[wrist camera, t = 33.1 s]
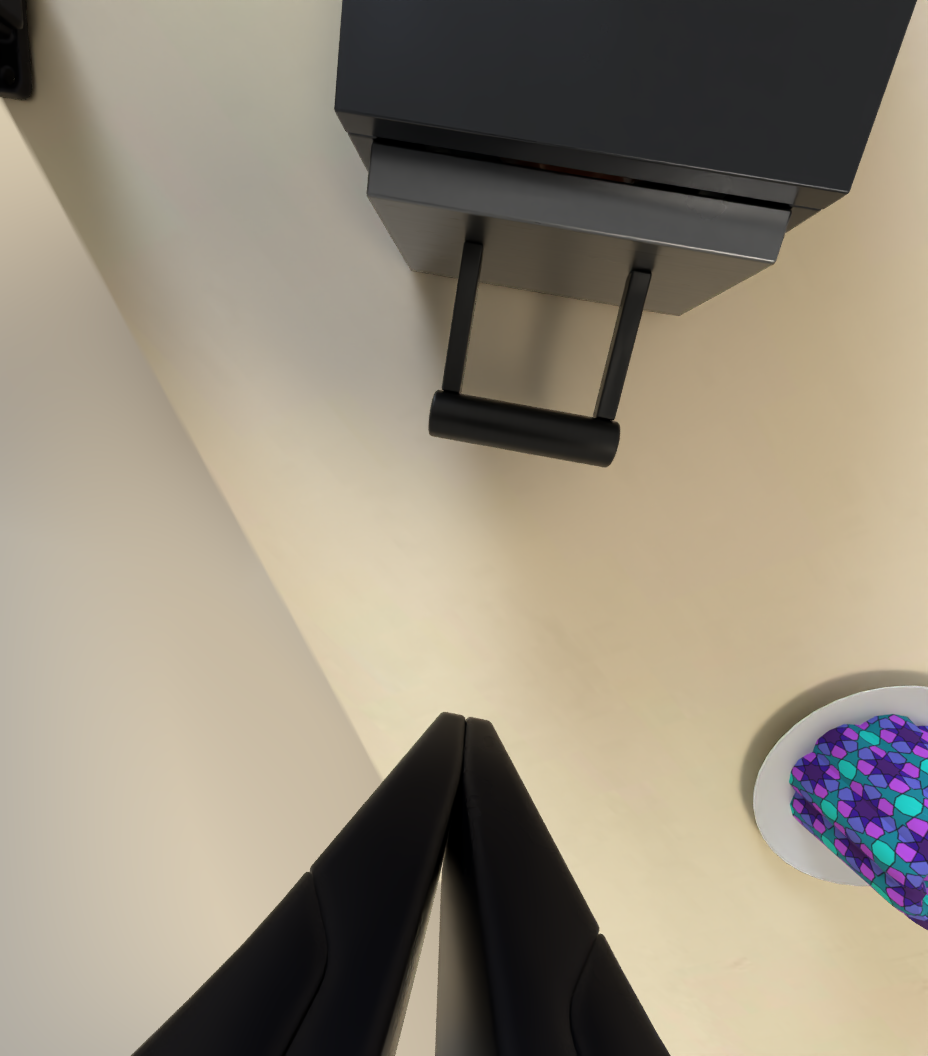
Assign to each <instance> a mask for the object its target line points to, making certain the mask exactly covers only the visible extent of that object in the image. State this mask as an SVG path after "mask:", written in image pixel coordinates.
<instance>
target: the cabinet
mask: <svg viewBox="0 0 928 1056" xmlns="http://www.w3.org/2000/svg"><path fill="white" fill-rule="evenodd" d="M916 2H917V0H343V1H342V14H341V27H340V41H339V54H338V67H337V81H336V94H335V107H334V110H335V112H336V114H337V116H338V118H339V120H340V122H341V124H342V125H343V127H344V129H345V131H346V132H348V135H349V137H350V139H351V141H352V143H353V145H354V146H355V148H356V150H357V152H358V154H359V156H360V158H361V160H362V162H363V163H364V165H365V167H366V169H367V171H368V173H369V163H370V153H371V144H372V142H379V143H385V144H391V145H397V146H404V147H410V148H416V149H422V150H426V148H425V145H430V146H436V147H442V148H448V149H454V150H460V151H467V152H473V153H479V154H485V155H491V156H497V157H503V158H510V159H516V160H522V161H528V162H534V163H540V164H546V165H553V166H559V167H565V168H571V169H577V170H583V171H589V172H596V173H602V174H608V175H614V176H620V177H626V178H632V179H639V180H645V181H651V182H657V183H663V184H669V185H675V186H682V187H688V188H694V189H700V190H706V191H712V192H718V193H725V194H727V195H726V196H725V197H724V198H723V199H728V200H734V201H741V202H747V203H753V204H759V205H765V206H771V207H777V208H784V209H790V210H792V213H791V217H790V220H789V223H788V226H787V229H786V232H788V231H789V230H791V229H793V228H794V227H796V226H797V225H799V224H800V223H802V222H804V221H805V220H807V219H808V218H810V217H812V216H813V215H815V214H816V213H818V212H819V211H821V209H825V208H826V207H828V206H829V205H831V204H833V203H834V202H836V201H837V200H839V199H841V198H842V197H844V196H845V195H847V194H848V193H849V192H850V189H851V186H852V183H853V180H854V178H855V175H856V172H857V169H858V166H859V163H860V161H861V158H862V155H863V152H864V149H865V146H866V144H867V141H868V138H869V135H870V132H871V129H872V126H873V124H874V121H875V118H876V115H877V112H878V109H879V107H880V104H881V101H882V98H883V95H884V92H885V90H886V87H887V84H888V81H889V78H890V75H891V73H892V70H893V67H894V64H895V61H896V58H897V56H898V53H899V50H900V47H901V44H902V41H903V38H904V36H905V33H906V30H907V27H908V24H909V21H910V19H911V16H912V13H913V10H914V7H915V4H916ZM786 232H785V233H786Z"/></svg>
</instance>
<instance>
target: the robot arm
mask: <svg viewBox="0 0 928 1056" xmlns="http://www.w3.org/2000/svg"><path fill="white" fill-rule="evenodd" d="M14 78H15V80H14ZM13 81H14V82H13ZM31 92H32V78H31V66H30V53H29V40H28V27H27V14H26V2H25V0H0V97H6V98H12V99H18V100H26V99H27V98H28V97H30V95H31ZM443 858H444V859H443ZM442 862H443V868H442V882H441V905H440V933H439V961H438V990H437V1018H436V1046H435V1056H670V1054H669V1052H668V1051H667V1049H666V1047H665V1046H664V1044H663V1042H662V1041H661V1039H660V1037H659V1036H658V1034H657V1032H656V1030H655V1029H654V1027H653V1025H652V1023H651V1021H650V1020H649V1018H648V1016H647V1014H646V1012H645V1011H644V1009H643V1007H642V1005H641V1003H640V1002H639V1000H638V998H637V996H636V994H635V993H634V991H633V989H632V987H631V985H630V984H629V982H628V980H627V978H626V976H625V975H624V973H623V971H622V969H621V967H620V965H619V963H618V961H617V960H616V958H615V956H614V954H613V952H612V950H611V948H610V946H609V944H608V942H607V940H606V938H605V937H604V935H603V934H598V933H599V926H598V924H597V922H596V920H595V918H594V916H593V914H592V913H591V911H590V909H589V907H588V905H587V903H586V901H585V899H584V897H583V895H582V894H581V892H580V890H579V888H578V886H577V884H576V882H575V880H574V878H573V877H572V875H571V873H570V871H569V869H568V867H567V865H566V863H565V861H564V859H563V858H562V856H561V854H560V852H559V850H558V848H557V846H556V844H555V842H554V841H553V839H552V837H551V835H550V833H549V831H548V829H547V827H546V825H545V823H544V822H543V820H542V818H541V816H540V814H539V812H538V810H537V808H536V806H535V805H534V803H533V801H532V799H531V797H530V795H529V793H528V791H527V789H526V787H525V786H524V784H523V782H522V780H521V778H520V776H519V774H518V772H517V770H516V769H515V767H514V765H513V763H512V761H511V759H510V757H509V755H508V753H507V751H506V750H505V748H504V746H503V744H502V742H501V740H500V738H499V736H498V734H497V733H496V731H495V729H494V727H493V725H492V723H491V722H490V721H488V720H483V719H478V718H473V717H468V718H467V719H466V720H465V717H464V716H462V715H458V714H453V713H448V712H442V713H441V714H440V715H439V716H438V717H437V718H436V719H435V721H434V722H433V723H432V724H431V725H430V727H429V728H428V729H427V730H426V731H425V732H424V734H423V735H422V736H421V737H420V738H419V740H418V741H417V742H416V743H415V744H414V745H413V747H412V748H411V749H410V750H409V751H408V753H407V754H406V755H405V756H404V757H403V758H402V760H401V761H400V762H399V763H398V764H397V766H396V767H395V768H394V769H393V770H392V771H391V773H390V774H389V775H388V776H387V777H386V779H385V780H384V781H383V782H382V783H381V785H380V786H379V787H378V788H377V789H376V790H375V792H374V793H373V794H372V795H371V796H370V797H369V799H368V800H367V801H366V802H365V804H363V806H362V807H361V808H360V809H359V810H358V812H357V813H356V814H355V815H354V816H353V817H352V819H351V820H350V821H349V822H348V823H347V825H346V826H345V827H344V828H343V830H341V832H340V833H339V834H338V835H337V836H336V838H335V839H334V840H333V841H332V842H331V843H330V845H329V846H328V847H327V848H326V849H325V851H324V852H323V853H322V854H321V855H320V857H319V858H318V859H317V860H316V861H315V862H314V864H313V865H312V866H311V868H310V872H306V873H305V874H304V875H303V876H302V877H301V879H300V880H299V881H298V882H297V883H296V884H295V886H294V887H293V888H292V889H291V890H290V891H289V893H288V894H287V895H286V896H285V897H284V899H283V900H282V901H281V902H280V903H279V904H278V905H277V906H276V908H275V909H274V910H273V911H272V912H271V913H270V914H269V915H268V917H267V918H266V919H265V920H264V921H263V922H262V923H261V924H260V925H259V927H258V928H257V929H256V930H255V931H254V932H253V933H252V934H251V936H250V937H249V938H248V939H247V940H246V941H245V942H244V943H243V944H242V945H241V947H240V948H239V949H238V950H237V951H236V952H235V953H234V954H233V955H232V956H231V957H230V958H229V959H228V960H227V961H226V962H225V963H224V964H223V965H222V966H221V967H220V968H219V969H218V970H217V971H216V972H215V973H214V974H213V975H212V976H211V977H210V978H209V979H208V980H207V981H206V982H205V983H204V984H203V985H202V986H201V987H200V988H199V989H198V990H197V991H196V992H195V993H194V994H193V995H192V996H191V998H189V1000H187V1001H186V1002H185V1003H184V1004H183V1006H181V1007H180V1008H179V1009H178V1010H177V1011H176V1012H175V1013H174V1014H173V1015H172V1016H171V1017H170V1018H169V1019H168V1020H167V1021H166V1022H165V1023H164V1024H163V1025H162V1026H161V1027H160V1028H159V1029H158V1030H157V1031H156V1032H155V1033H154V1034H153V1035H152V1036H151V1037H150V1038H148V1039H147V1040H146V1041H145V1042H144V1043H143V1044H142V1045H141V1046H140V1047H139V1048H138V1049H137V1050H136V1051H135V1052H134V1053H133V1054H132V1055H131V1056H395V1054H396V1050H397V1046H398V1042H399V1038H400V1034H401V1030H402V1026H403V1022H404V1018H405V1014H406V1010H407V1006H408V1002H409V998H410V994H411V990H412V986H413V982H414V977H415V974H416V969H417V966H418V961H419V957H420V954H421V950H422V945H423V942H424V938H425V934H426V929H427V925H428V922H429V917H430V914H431V909H432V905H433V902H434V898H435V893H436V890H437V885H438V881H439V876H440V872H441V867H442Z"/></svg>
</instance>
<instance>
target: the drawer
mask: <svg viewBox="0 0 928 1056" xmlns="http://www.w3.org/2000/svg"><path fill="white" fill-rule="evenodd" d="M425 148H426V150H422V149H416V148H410V147H404V146H397V145H391V144H385V143H379V142H372V144H371V153H370V163H369V174H368V184H367V197H368V198H369V200H370V202H371V203H372V205H373V207H374V209H375V210H376V212H377V214H378V215H379V217H380V219H381V220H382V222H383V224H384V226H385V227H386V229H387V231H388V232H389V234H390V236H391V237H392V239H393V241H394V243H395V244H396V246H397V248H398V249H399V251H400V253H401V254H402V256H403V258H404V260H405V261H406V263H407V265H408V266H409V268H410V270H412V271H418V272H424V273H430V274H436V275H441V276H447V277H453V278H458V283H457V290H456V297H455V303H454V310H453V317H452V323H451V330H450V336H449V343H448V350H447V356H446V363H445V369H444V376H443V383H442V390H444V391H442V390H437V391H436V392H435V394H434V396H433V399H432V403H431V408H430V415H429V434H430V435H431V436H434V437H439V438H445V439H450V440H456V441H461V442H467V443H472V444H478V445H483V446H489V447H494V448H500V449H505V450H511V451H516V452H522V453H527V454H533V455H538V456H544V457H549V458H555V459H561V460H566V461H572V462H577V463H583V464H588V465H594V466H599V467H608V466H609V465H610V464H611V462H612V461H613V459H614V457H615V454H616V452H617V448H618V445H619V440H620V425H619V423H618V422H616V421H612V420H614V419H615V416H616V412H617V409H618V405H619V401H620V397H621V393H622V389H623V385H624V381H625V378H626V374H627V370H628V366H629V362H630V358H631V354H632V351H633V347H634V343H635V339H636V335H637V331H638V327H639V323H640V320H641V316H642V312H643V310H646V311H652V312H658V313H664V314H670V315H675V316H680V315H682V314H684V313H685V312H687V311H689V310H691V309H693V308H695V307H696V306H698V305H700V304H702V303H704V302H706V301H707V300H709V299H711V298H713V297H715V296H716V295H718V294H720V293H722V292H724V291H726V290H727V289H729V288H731V287H733V286H735V285H737V284H738V283H740V282H742V281H744V280H746V279H748V278H749V277H751V276H753V275H755V274H757V273H758V272H760V271H762V270H764V269H766V268H768V267H769V266H771V265H773V264H774V263H775V262H776V260H777V257H778V253H779V250H780V247H781V244H782V241H783V238H784V235H785V232H786V229H787V226H788V223H789V220H790V217H791V213H792V210H790V209H784V208H777V207H771V206H765V205H759V204H753V203H747V202H741V201H734V200H728V199H723V198H724V197H725V196H726V195H727V194H725V193H718V192H712V191H706V190H700V189H694V188H688V187H682V186H675V185H669V184H663V183H657V182H651V181H645V180H641V181H640V182H639V183H637V184H630V183H624V182H618V181H612V180H606V179H600V178H594V177H587V176H581V175H575V174H569V173H563V172H557V171H551V170H545V169H538V168H532V167H526V166H520V165H514V164H508V163H503V162H502V160H501V159H500V157H497V156H491V155H485V154H479V153H473V152H467V151H460V150H454V149H448V148H442V147H436V146H430V145H425ZM479 282H482V283H488V284H494V285H500V286H506V287H512V288H517V289H523V290H529V291H535V292H541V293H547V294H553V295H558V296H564V297H570V298H576V299H582V300H588V301H593V302H599V303H605V304H611V305H617V306H620V307H619V311H618V316H617V320H616V324H615V328H614V332H613V336H612V340H611V344H610V348H609V352H608V356H607V360H606V365H605V369H604V373H603V377H602V381H601V385H600V389H599V393H598V397H597V401H596V405H595V409H594V414H593V417H594V418H593V417H588V416H582V415H577V414H571V413H565V412H560V411H554V410H549V409H543V408H537V407H532V406H526V405H520V404H515V403H509V402H504V401H498V400H492V399H487V398H481V397H476V396H470V395H464V394H460V393H461V390H462V384H463V378H464V372H465V366H466V360H467V353H468V347H469V341H470V335H471V329H472V323H473V317H474V311H475V304H476V298H477V292H478V286H479ZM610 420H611V421H610Z"/></svg>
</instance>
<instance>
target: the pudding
mask: <svg viewBox="0 0 928 1056" xmlns="http://www.w3.org/2000/svg"><path fill="white" fill-rule="evenodd" d="M753 809H754V814H755V820H756V823H757V826H758V828H759V830H760V833H761V835H762V837H763V839H764V840H765V841H766V843H767V844H768V845H769V847H770V848H771V849H772V851H773V852H775V853H776V854H777V855H778V856H779V857H780V858H781V859H782V860H783V861H785V862H786V863H787V864H789V865H791V866H792V867H794V868H796V869H797V870H799V871H800V872H803V873H805V874H808V875H810V876H812V877H815V878H817V879H820V880H824V881H829V882H833V883H837V884H844V885H853V886H871V887H872V888H873V889H874V890H875V891H876V892H878V893H879V894H880V895H881V896H882V897H883V898H884V899H885V900H887V901H888V902H889V903H890V904H891V905H892V906H894V907H895V908H896V909H898V910H899V911H901V912H902V913H904V914H905V915H906V916H907V917H908V918H909V919H911V920H912V921H914V922H915V923H916V924H918V925H920V926H922V927H923V928H925V929H927V930H928V687H923V686H911V685H910V686H893V687H883V688H878V689H872V690H867V691H862V692H859V693H856V694H853V695H850V696H847V697H844V698H841V699H838V700H836V701H834V702H832V703H830V704H828V705H826V706H824V707H822V708H819V709H817V710H815V711H814V712H812V713H811V714H810V715H808V716H807V717H805V718H804V719H802V720H801V721H799V722H798V723H796V724H795V725H794V726H793V727H792V728H791V729H790V730H789V731H788V732H787V733H786V734H784V735H783V736H782V737H781V738H780V739H779V741H778V742H777V743H776V744H775V746H774V747H773V748H772V750H771V751H770V752H769V754H768V755H767V757H766V759H765V761H764V763H763V764H762V766H761V768H760V770H759V772H758V776H757V780H756V783H755V787H754V796H753Z"/></svg>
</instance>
